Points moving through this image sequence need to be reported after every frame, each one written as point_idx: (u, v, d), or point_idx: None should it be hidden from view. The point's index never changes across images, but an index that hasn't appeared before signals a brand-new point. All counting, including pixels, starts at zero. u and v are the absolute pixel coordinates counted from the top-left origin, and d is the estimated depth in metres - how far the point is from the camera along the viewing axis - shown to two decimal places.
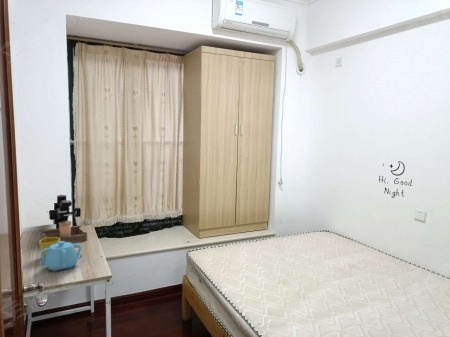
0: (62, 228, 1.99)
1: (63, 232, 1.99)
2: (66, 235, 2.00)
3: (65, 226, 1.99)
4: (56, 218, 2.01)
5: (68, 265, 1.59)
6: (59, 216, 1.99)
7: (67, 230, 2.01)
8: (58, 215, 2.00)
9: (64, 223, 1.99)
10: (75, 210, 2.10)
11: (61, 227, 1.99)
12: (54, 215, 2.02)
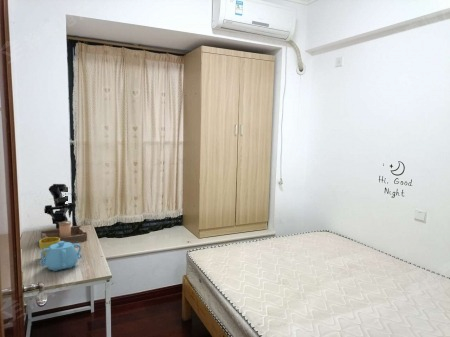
0: (62, 228, 1.99)
1: (63, 232, 1.99)
2: (66, 235, 2.00)
3: (65, 226, 1.99)
4: (50, 215, 2.07)
5: (68, 265, 1.59)
6: (54, 217, 2.05)
7: (67, 230, 2.01)
8: (53, 216, 2.05)
9: (64, 223, 1.99)
10: (70, 208, 2.13)
11: (61, 227, 1.99)
12: (49, 211, 2.06)
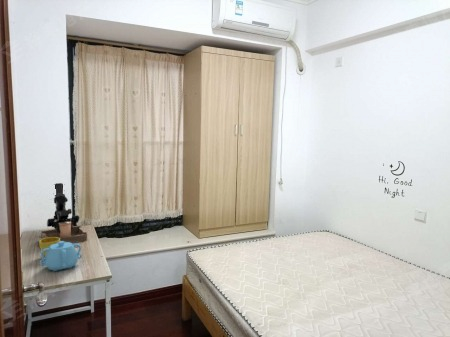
0: (62, 228, 1.99)
1: (63, 232, 1.99)
2: (66, 235, 2.00)
3: (65, 226, 1.99)
4: (55, 228, 2.01)
5: (68, 265, 1.59)
6: (58, 231, 1.99)
7: (67, 230, 2.01)
8: (58, 229, 1.99)
9: (64, 223, 1.99)
10: (72, 221, 2.06)
11: (61, 227, 1.99)
12: (54, 224, 2.01)
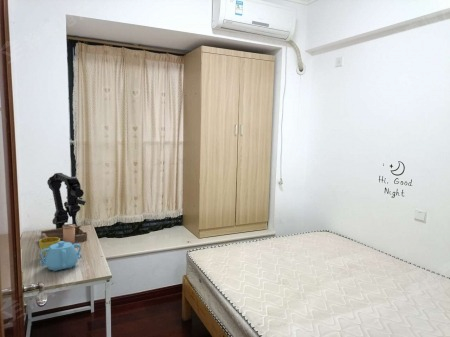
0: (66, 231, 1.92)
1: (67, 235, 1.92)
2: (70, 238, 1.93)
3: (69, 229, 1.92)
4: (71, 214, 2.05)
5: (68, 265, 1.59)
6: (74, 218, 2.07)
7: (71, 234, 1.93)
8: (75, 216, 2.07)
9: (68, 226, 1.92)
10: None
11: (65, 230, 1.92)
12: None
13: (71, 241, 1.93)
